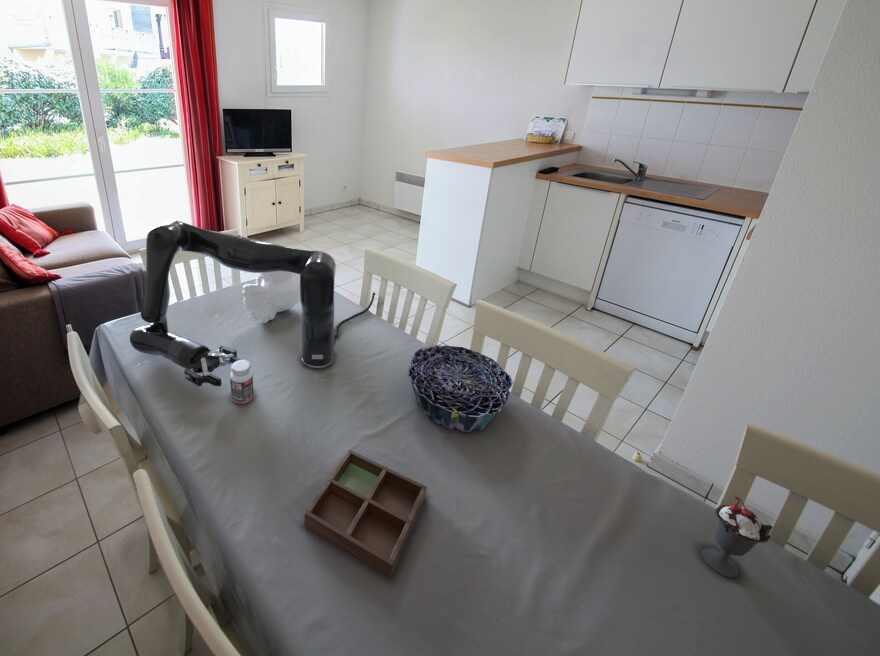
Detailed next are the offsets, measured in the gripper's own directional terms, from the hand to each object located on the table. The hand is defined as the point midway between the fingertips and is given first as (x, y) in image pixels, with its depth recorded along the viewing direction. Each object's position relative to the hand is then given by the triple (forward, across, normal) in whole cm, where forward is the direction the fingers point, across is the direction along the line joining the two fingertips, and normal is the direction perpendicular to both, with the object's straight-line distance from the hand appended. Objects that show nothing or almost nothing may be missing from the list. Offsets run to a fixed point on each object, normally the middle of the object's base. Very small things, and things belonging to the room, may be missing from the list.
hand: (232, 373), depth 111 cm
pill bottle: (+3, 0, +6) cm, 7 cm away
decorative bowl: (+51, +28, +6) cm, 59 cm away
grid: (+45, -12, +6) cm, 47 cm away
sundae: (+102, +12, +6) cm, 103 cm away
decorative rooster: (-18, +39, +6) cm, 43 cm away
